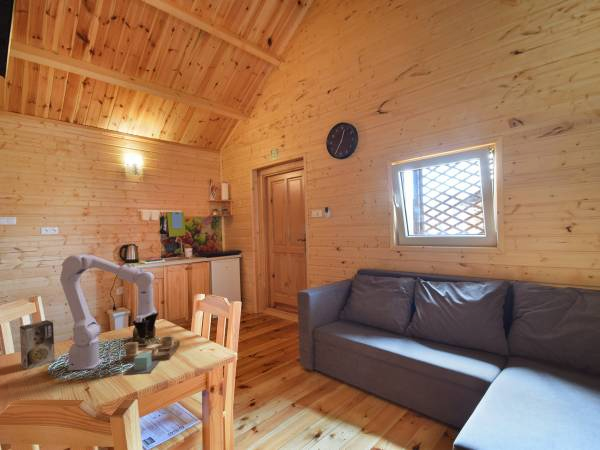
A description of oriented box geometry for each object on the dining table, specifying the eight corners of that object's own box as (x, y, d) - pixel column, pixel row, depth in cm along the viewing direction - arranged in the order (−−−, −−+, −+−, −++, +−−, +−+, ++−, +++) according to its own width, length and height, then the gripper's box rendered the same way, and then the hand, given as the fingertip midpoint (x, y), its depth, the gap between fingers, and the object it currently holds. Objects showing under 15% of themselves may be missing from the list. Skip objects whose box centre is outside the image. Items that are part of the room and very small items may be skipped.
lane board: (121, 362, 122) (121, 356, 122) (136, 348, 136) (136, 342, 136) (169, 359, 124) (169, 353, 124) (179, 345, 138) (179, 340, 138)
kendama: (126, 351, 135) (136, 334, 154) (150, 348, 138) (157, 332, 157) (126, 337, 135) (136, 322, 154) (150, 335, 138) (157, 321, 157)
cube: (134, 370, 114) (134, 358, 114) (139, 364, 119) (139, 353, 119) (147, 369, 115) (146, 357, 115) (151, 364, 119) (151, 352, 119)
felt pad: (125, 374, 112) (124, 373, 112) (135, 363, 121) (135, 362, 121) (150, 373, 113) (150, 372, 113) (159, 362, 122) (159, 361, 122)
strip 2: (144, 350, 131) (144, 338, 131) (148, 346, 135) (148, 335, 135) (171, 348, 132) (171, 337, 132) (174, 345, 136) (174, 334, 136)
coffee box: (48, 357, 129) (47, 319, 129) (55, 360, 126) (54, 321, 126) (20, 366, 121) (19, 326, 121) (26, 370, 118) (25, 328, 118)
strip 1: (124, 357, 124) (124, 345, 124) (129, 353, 128) (128, 341, 128) (154, 355, 125) (154, 343, 125) (158, 351, 129) (157, 340, 129)
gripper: (148, 305, 118) (149, 340, 118) (162, 296, 133) (163, 327, 133) (129, 306, 118) (130, 341, 118) (145, 297, 132) (146, 328, 132)
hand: (146, 334), depth 125 cm, fingers open, 7 cm apart
